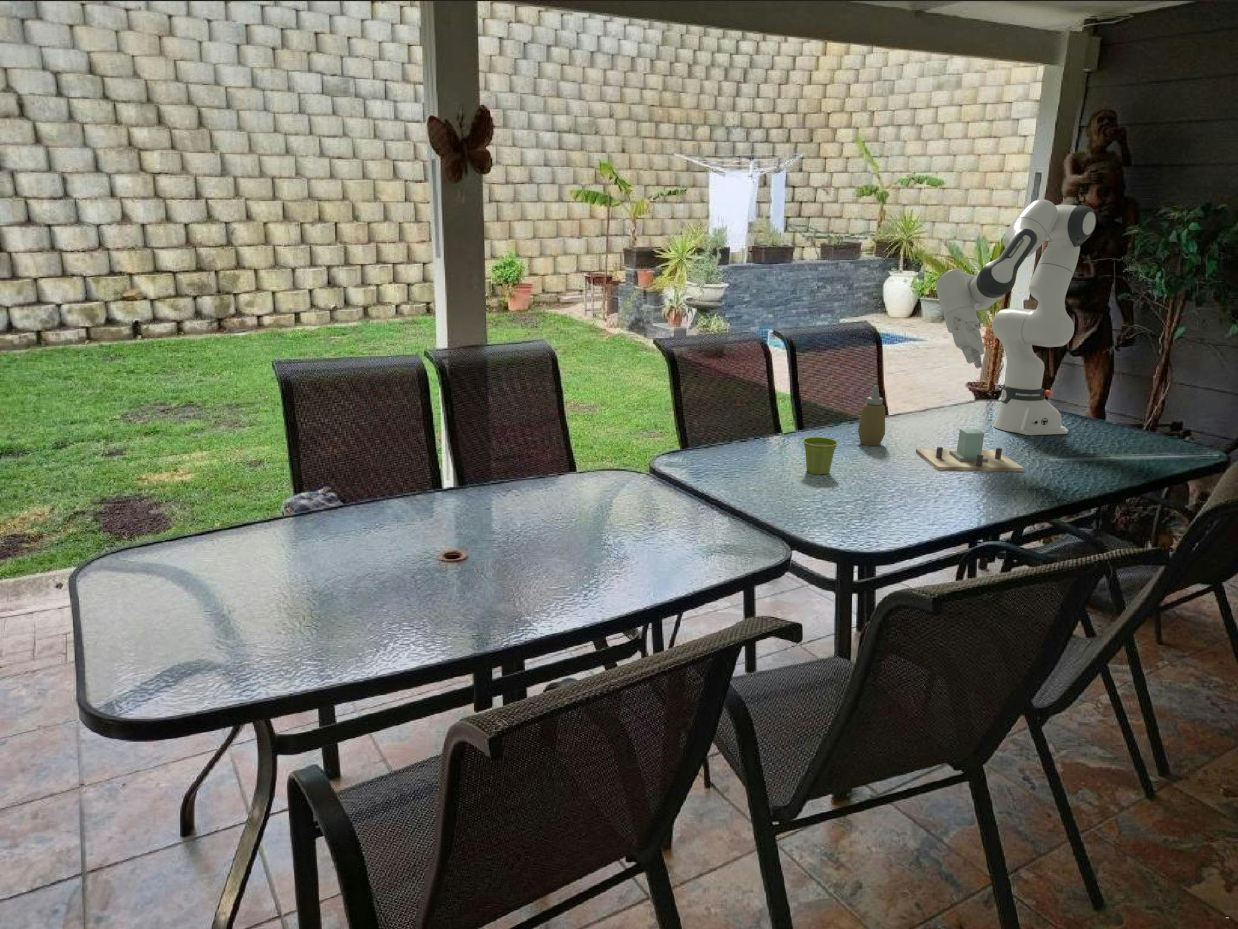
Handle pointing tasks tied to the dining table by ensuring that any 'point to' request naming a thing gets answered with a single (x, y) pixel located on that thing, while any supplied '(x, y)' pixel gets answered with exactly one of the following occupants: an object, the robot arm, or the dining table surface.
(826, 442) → the plant pot
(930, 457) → the locating board
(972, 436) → the flange block
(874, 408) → the squeeze bottle
